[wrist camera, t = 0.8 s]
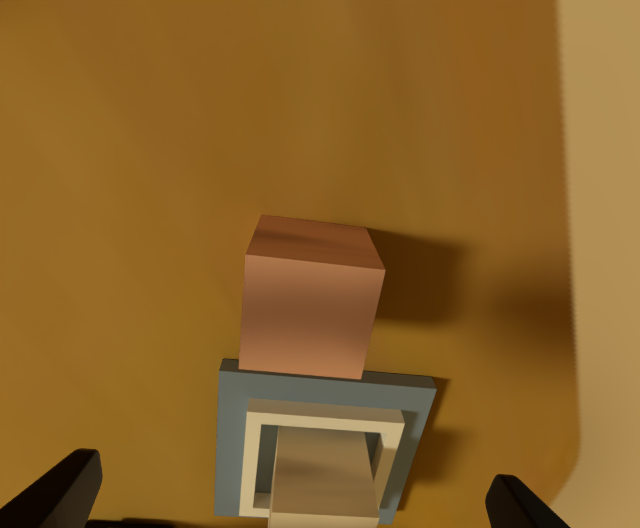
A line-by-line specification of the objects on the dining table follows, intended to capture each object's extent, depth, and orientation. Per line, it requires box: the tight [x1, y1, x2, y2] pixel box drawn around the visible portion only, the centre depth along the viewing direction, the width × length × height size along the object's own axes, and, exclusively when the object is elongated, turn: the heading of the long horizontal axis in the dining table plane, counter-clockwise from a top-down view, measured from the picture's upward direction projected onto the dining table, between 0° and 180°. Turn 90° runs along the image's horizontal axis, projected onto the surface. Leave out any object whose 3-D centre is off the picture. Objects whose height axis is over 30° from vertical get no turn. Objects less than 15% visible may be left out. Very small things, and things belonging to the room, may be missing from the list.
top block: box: [239, 215, 386, 379], centre depth 16 cm, size 5×5×5 cm
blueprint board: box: [214, 359, 437, 524], centre depth 23 cm, size 12×12×2 cm
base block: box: [268, 425, 379, 528], centre depth 20 cm, size 5×5×5 cm
